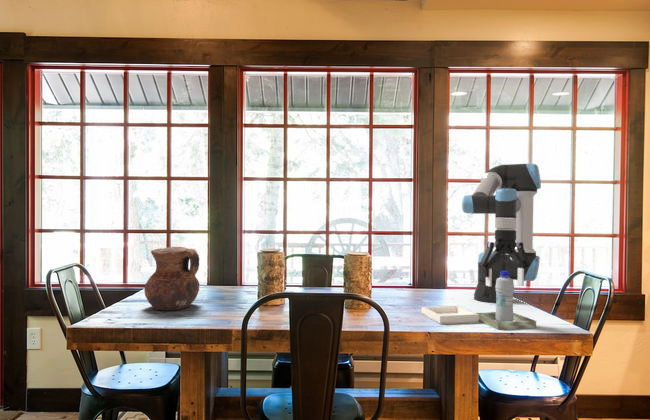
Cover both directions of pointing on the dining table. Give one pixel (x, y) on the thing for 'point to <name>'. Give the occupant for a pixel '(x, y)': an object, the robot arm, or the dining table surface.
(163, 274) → the jug
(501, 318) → the bottle
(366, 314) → the dining table surface
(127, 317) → the dining table surface
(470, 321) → the cream dish
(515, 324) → the rim
